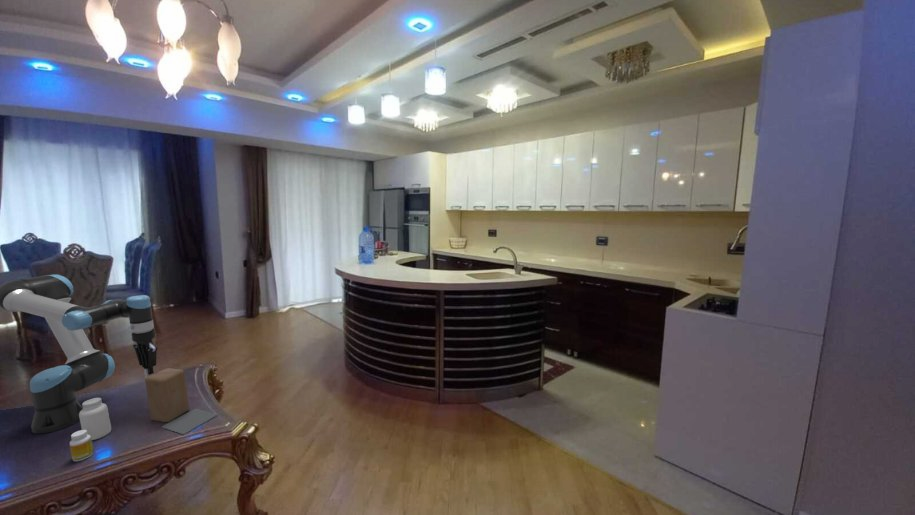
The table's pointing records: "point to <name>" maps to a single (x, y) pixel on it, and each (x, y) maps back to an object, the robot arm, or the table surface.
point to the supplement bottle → (81, 445)
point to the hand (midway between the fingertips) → (150, 380)
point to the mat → (189, 421)
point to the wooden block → (167, 394)
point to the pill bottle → (95, 418)
